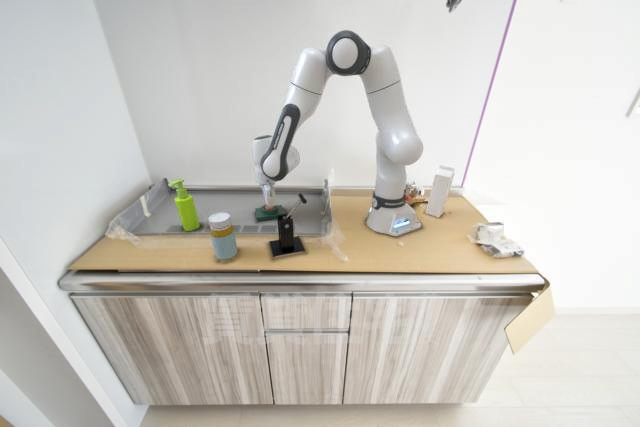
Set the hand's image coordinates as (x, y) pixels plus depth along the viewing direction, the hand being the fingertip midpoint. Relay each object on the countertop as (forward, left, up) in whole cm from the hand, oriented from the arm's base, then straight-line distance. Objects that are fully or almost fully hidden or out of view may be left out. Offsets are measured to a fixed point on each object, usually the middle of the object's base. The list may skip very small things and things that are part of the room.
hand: (269, 206), depth 104 cm
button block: (0, 0, -4) cm, 4 cm away
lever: (-6, +26, +10) cm, 28 cm away
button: (0, 0, -2) cm, 2 cm away
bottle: (+18, +24, -4) cm, 30 cm away
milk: (-72, +20, -4) cm, 75 cm away
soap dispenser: (+32, +1, -4) cm, 32 cm away
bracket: (-2, +26, -4) cm, 26 cm away
